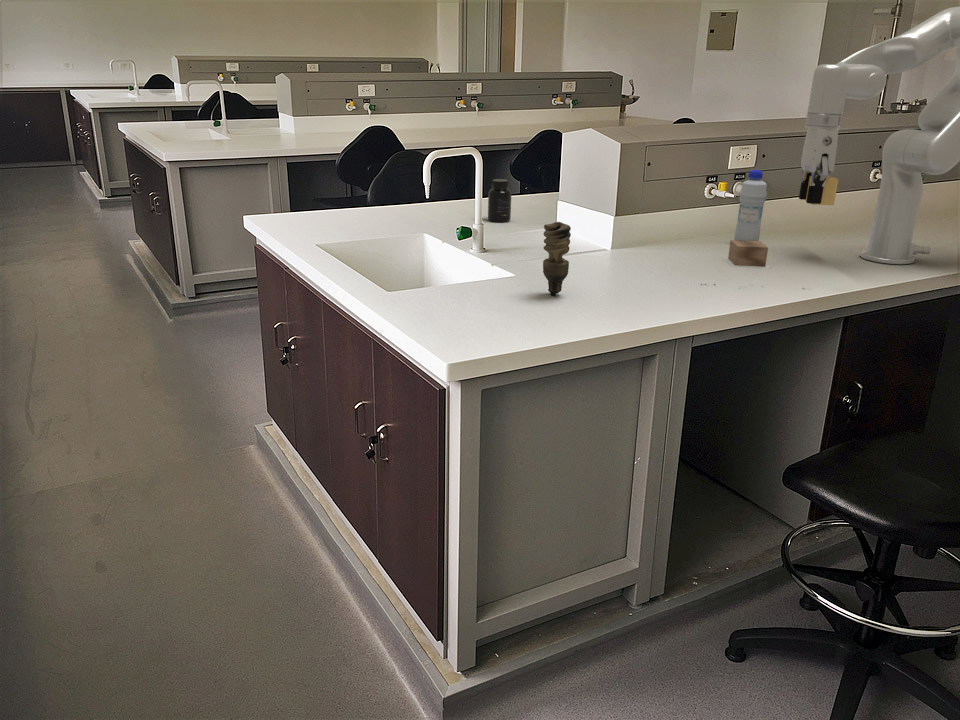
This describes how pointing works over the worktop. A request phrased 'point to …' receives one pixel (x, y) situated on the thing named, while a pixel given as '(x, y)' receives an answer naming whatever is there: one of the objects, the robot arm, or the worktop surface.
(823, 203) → the ochre block
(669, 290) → the worktop surface
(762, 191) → the bottle
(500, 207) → the supplement bottle
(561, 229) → the light bulb
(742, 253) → the walnut block
